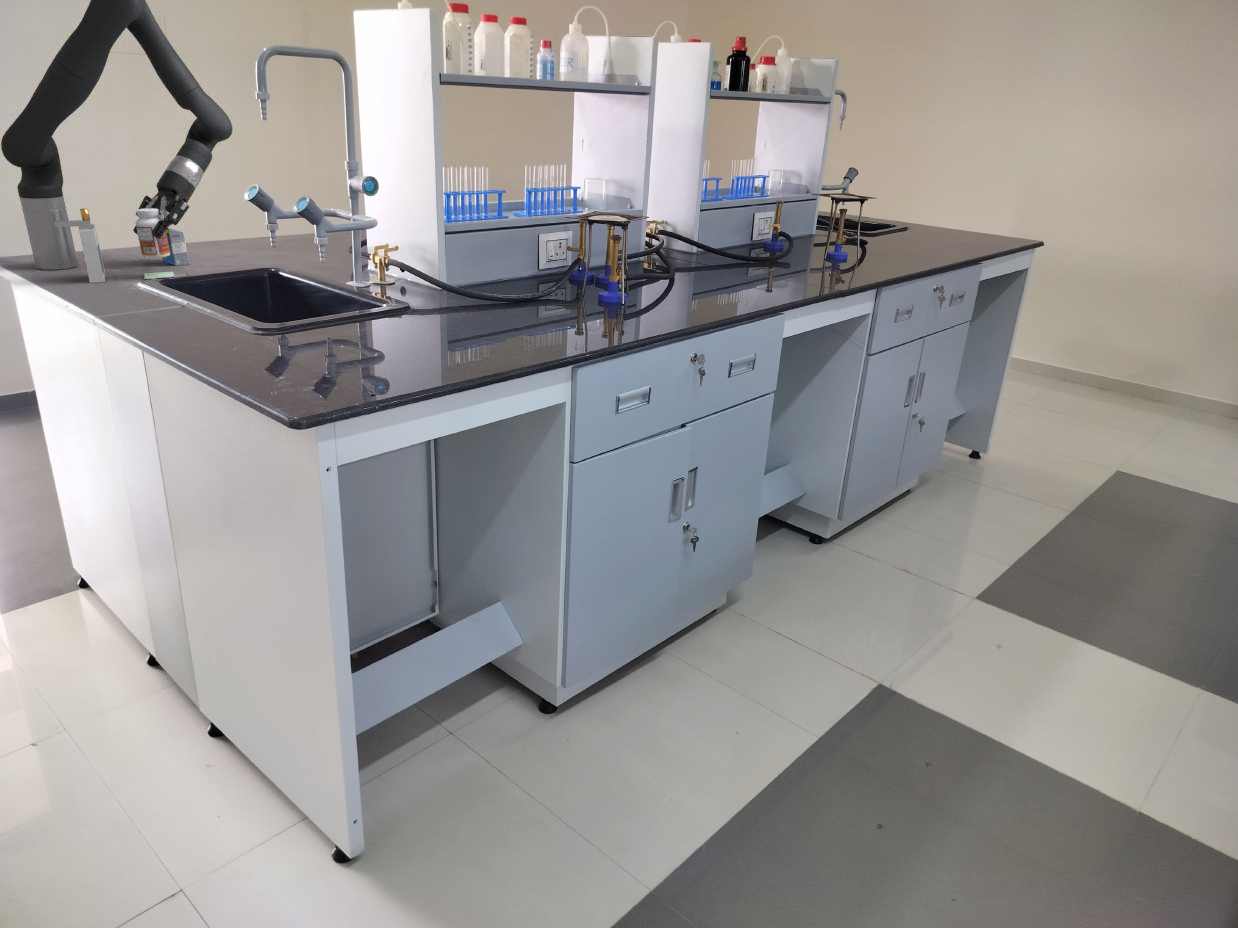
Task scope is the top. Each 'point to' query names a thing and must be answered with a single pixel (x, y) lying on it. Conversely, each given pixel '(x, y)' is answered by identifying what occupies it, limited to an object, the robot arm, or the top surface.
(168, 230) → the label tape box
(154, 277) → the mat
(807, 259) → the top surface
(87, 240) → the socket panel
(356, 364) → the top surface
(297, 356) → the top surface
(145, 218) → the pill bottle
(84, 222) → the clip
